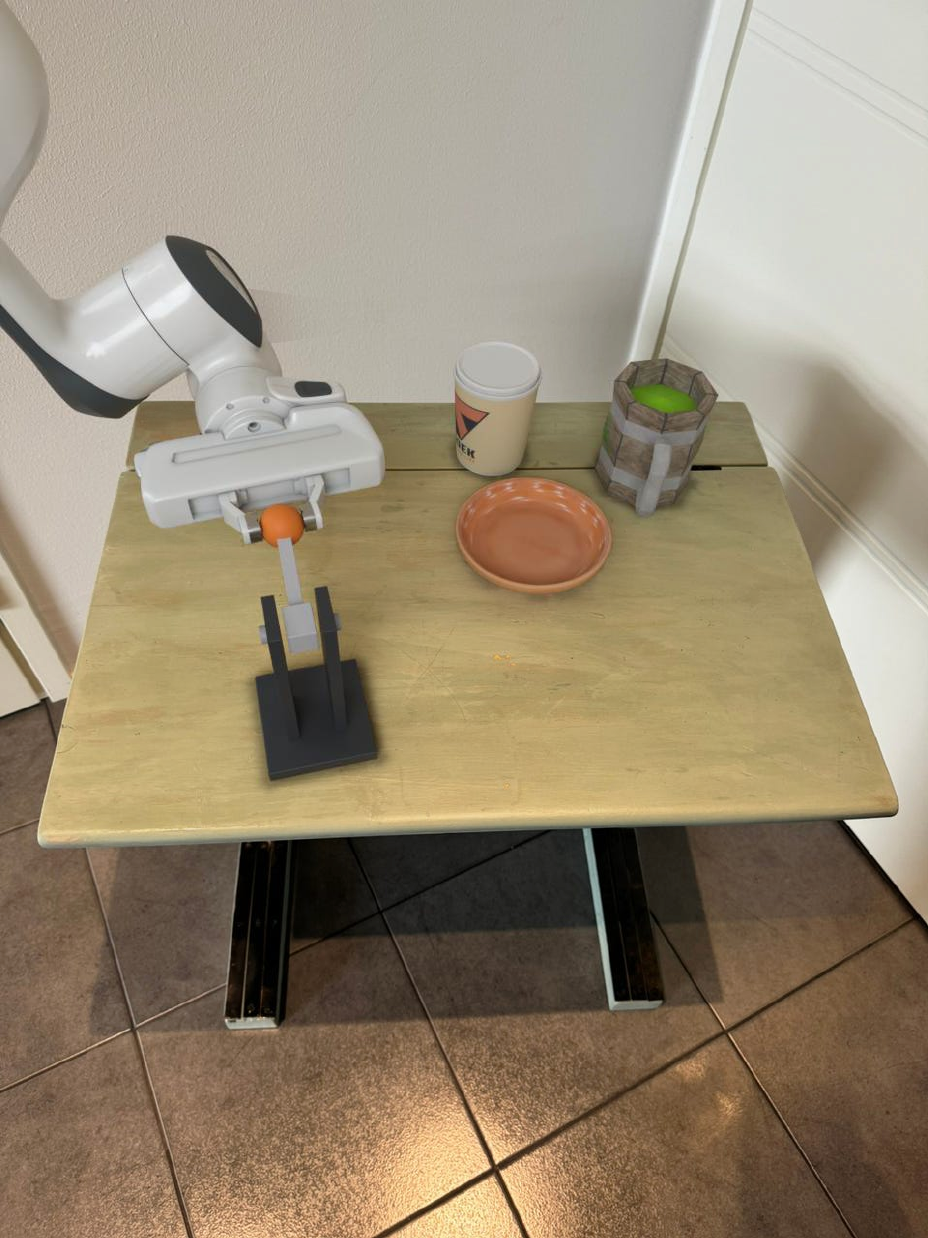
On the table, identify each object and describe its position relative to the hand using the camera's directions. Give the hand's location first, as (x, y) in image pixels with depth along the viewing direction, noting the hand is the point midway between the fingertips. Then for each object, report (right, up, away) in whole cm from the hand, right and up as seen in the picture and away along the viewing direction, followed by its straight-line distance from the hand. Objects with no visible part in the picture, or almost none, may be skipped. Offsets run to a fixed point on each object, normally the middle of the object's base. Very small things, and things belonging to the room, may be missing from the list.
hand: (284, 531), depth 67 cm
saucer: (+21, 0, +21) cm, 30 cm away
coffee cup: (+17, +12, +30) cm, 36 cm away
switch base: (+1, -16, +6) cm, 17 cm away
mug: (+34, +7, +27) cm, 44 cm away
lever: (+1, -4, 0) cm, 4 cm away
